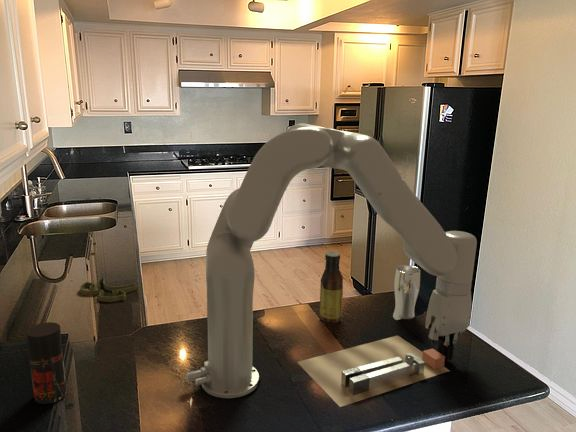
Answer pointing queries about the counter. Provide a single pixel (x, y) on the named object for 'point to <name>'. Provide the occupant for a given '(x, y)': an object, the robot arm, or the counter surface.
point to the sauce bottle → (331, 289)
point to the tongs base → (386, 375)
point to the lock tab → (433, 358)
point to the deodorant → (46, 361)
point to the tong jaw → (368, 369)
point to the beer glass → (406, 291)
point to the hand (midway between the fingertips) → (444, 357)
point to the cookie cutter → (117, 291)
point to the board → (331, 365)
